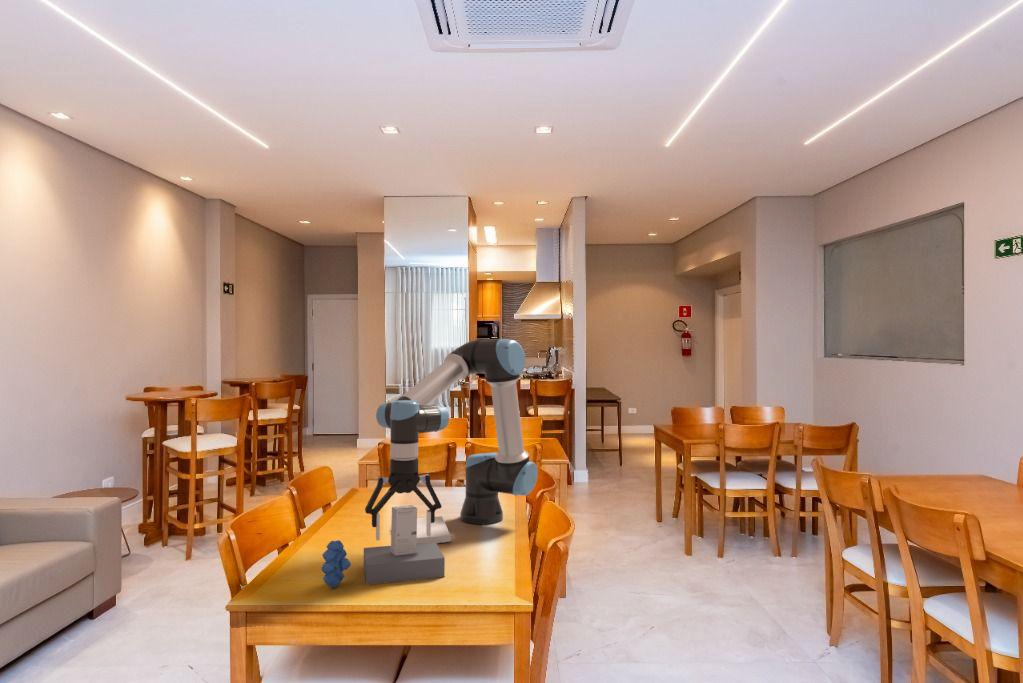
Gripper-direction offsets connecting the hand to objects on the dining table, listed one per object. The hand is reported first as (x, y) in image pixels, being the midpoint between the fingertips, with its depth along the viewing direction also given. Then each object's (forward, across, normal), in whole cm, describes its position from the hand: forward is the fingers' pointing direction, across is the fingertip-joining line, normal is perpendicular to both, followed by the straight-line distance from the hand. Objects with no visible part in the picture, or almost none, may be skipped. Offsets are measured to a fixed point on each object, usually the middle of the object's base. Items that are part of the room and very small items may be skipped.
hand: (403, 537), depth 163 cm
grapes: (+9, +17, +7) cm, 21 cm away
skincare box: (+4, 0, 0) cm, 4 cm away
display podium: (+9, 0, 0) cm, 9 cm away
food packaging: (+10, -10, -31) cm, 34 cm away
